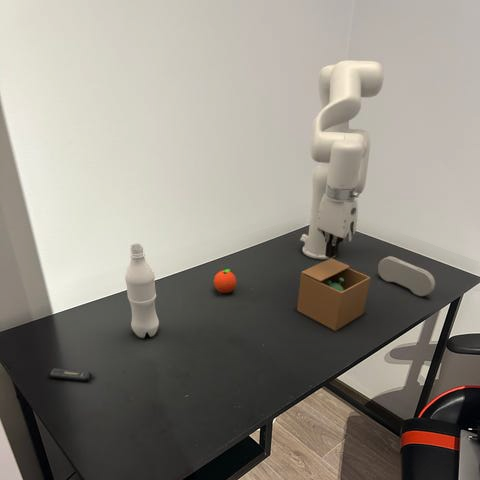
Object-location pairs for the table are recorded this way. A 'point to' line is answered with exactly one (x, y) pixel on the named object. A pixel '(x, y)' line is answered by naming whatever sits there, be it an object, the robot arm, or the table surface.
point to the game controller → (406, 275)
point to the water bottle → (141, 293)
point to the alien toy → (335, 285)
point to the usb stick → (70, 374)
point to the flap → (325, 269)
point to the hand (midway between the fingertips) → (330, 255)
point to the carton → (334, 298)
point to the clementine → (225, 281)
